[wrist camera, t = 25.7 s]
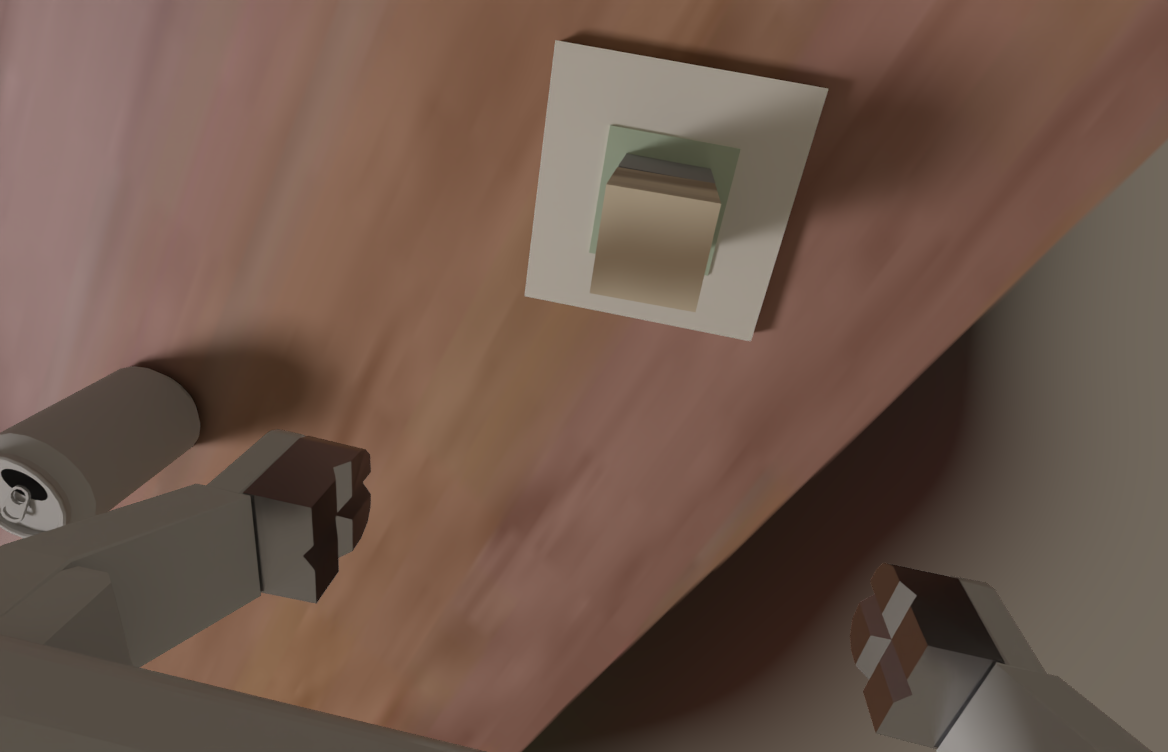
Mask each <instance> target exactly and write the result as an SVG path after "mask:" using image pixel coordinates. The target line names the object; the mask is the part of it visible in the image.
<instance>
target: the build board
mask: <svg viewBox="0 0 1168 752" xmlns="http://www.w3.org/2000/svg"><path fill="white" fill-rule="evenodd" d="M827 92H828V88H822V87H817V86H811V85H805V84H800V83H794V82H789V81H783V80H777V79H772V78H766V77H760V76H755V75H749V74H743V73H738V72H732V71H726V70H721V69H715V68H710V67H704V66H698V65H693V64H687V63H681V62H676V61H670V60H664V59H659V58H653V57H647V56H642V55H636V54H631V53H625V52H619V51H614V50H608V49H602V48H597V47H591V46H585V45H580V44H574V43H568V42H563V41H557V40H555V48H554V56H553V64H552V72H551V81H550V89H549V97H548V106H547V114H546V122H545V130H544V139H543V147H542V155H541V164H540V172H539V180H538V188H537V197H536V205H535V213H534V222H533V230H532V238H531V246H530V255H529V263H528V271H527V280H526V288H525V296H527V297H532V298H537V299H542V300H547V301H552V302H557V303H562V304H567V305H572V306H577V307H582V308H587V309H592V310H597V311H602V312H607V313H612V314H617V315H622V316H627V317H632V318H637V319H642V320H647V321H652V322H657V323H662V324H667V325H672V326H677V327H682V328H687V329H692V330H697V331H702V332H707V333H712V334H717V335H722V336H727V337H732V338H737V339H742V340H747V341H751V339H752V336H753V333H754V330H755V326H756V323H757V320H758V316H759V313H760V310H761V307H762V303H763V300H764V297H765V294H766V290H767V287H768V284H769V281H770V277H771V274H772V271H773V268H774V264H775V261H776V258H777V255H778V251H779V248H780V245H781V242H782V238H783V235H784V232H785V229H786V225H787V222H788V219H789V216H790V212H791V209H792V206H793V203H794V199H795V196H796V193H797V190H798V186H799V183H800V180H801V177H802V173H803V170H804V167H805V164H806V160H807V157H808V154H809V151H810V147H811V144H812V141H813V138H814V134H815V131H816V128H817V125H818V121H819V118H820V115H821V112H822V108H823V105H824V102H825V99H826V95H827ZM626 153H628V154H633V155H639V156H644V157H649V158H655V159H660V160H666V161H671V162H677V163H682V164H688V165H693V166H699V167H704V168H710V169H711V171H712V174H713V177H714V180H715V185H716V188H717V192H718V195H719V198H720V201H721V207H720V211H719V215H718V220H717V224H716V228H715V232H714V236H713V241H712V245H711V249H710V253H709V258H708V262H707V266H706V270H705V274H704V279H703V283H702V287H701V291H700V295H699V300H698V304H697V308H696V312H691V311H685V310H680V309H674V308H669V307H663V306H658V305H652V304H647V303H641V302H636V301H630V300H625V299H619V298H614V297H608V296H603V295H597V294H592V293H590V287H591V281H592V274H593V267H594V261H595V254H596V248H597V241H598V235H599V228H600V221H601V215H602V208H603V202H604V195H605V189H606V184H607V182H608V181H609V179H610V178H611V176H612V175H613V173H614V172H615V170H616V168H617V167H618V166H619V164H620V162H621V161H622V159H623V158H624V156H625V155H626Z"/></svg>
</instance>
